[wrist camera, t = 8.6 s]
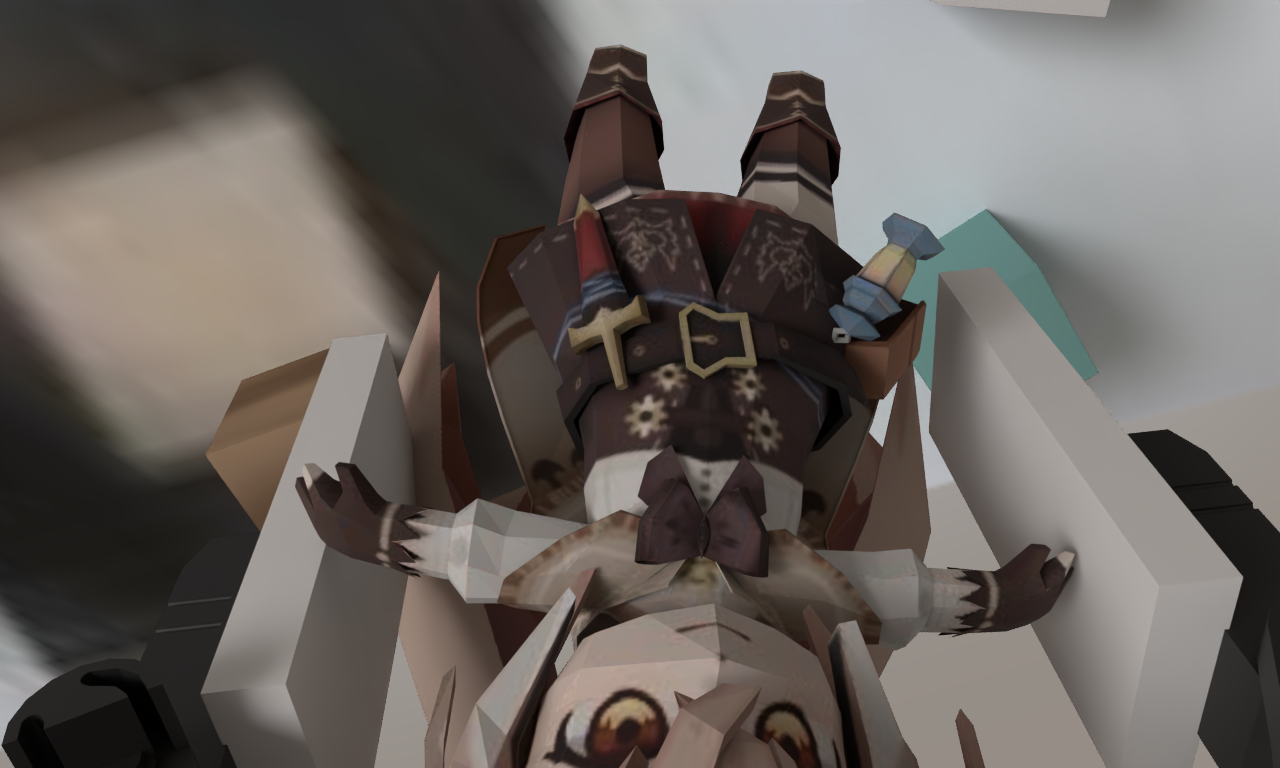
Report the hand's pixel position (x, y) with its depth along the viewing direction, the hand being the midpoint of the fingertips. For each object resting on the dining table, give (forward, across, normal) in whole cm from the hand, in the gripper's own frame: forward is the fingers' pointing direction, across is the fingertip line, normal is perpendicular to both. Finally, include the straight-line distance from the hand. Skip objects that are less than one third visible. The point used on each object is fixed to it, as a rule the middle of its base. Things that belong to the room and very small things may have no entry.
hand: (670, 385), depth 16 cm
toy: (+3, 0, 0) cm, 3 cm away
